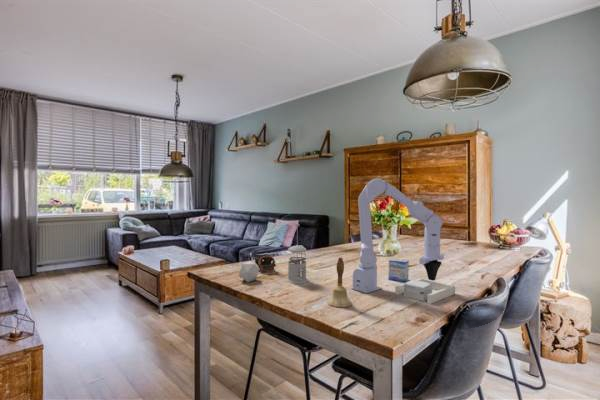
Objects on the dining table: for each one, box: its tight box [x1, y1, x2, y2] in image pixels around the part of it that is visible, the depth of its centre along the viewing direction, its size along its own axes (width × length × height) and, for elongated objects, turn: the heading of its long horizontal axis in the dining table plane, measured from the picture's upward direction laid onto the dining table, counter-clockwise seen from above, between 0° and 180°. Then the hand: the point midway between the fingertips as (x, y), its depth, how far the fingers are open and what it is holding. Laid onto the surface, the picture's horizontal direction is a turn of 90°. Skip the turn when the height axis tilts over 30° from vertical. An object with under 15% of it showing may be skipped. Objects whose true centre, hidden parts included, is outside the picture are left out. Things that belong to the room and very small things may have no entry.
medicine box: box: [387, 258, 410, 283], centre depth 144 cm, size 8×4×9 cm, turn 62°
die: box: [238, 261, 260, 283], centre depth 143 cm, size 8×9×10 cm
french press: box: [285, 222, 309, 285], centre depth 143 cm, size 10×12×25 cm
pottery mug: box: [254, 255, 277, 274], centre depth 159 cm, size 12×10×8 cm
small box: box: [403, 279, 433, 302], centre depth 122 cm, size 8×8×5 cm
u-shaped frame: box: [394, 277, 456, 305], centre depth 125 cm, size 18×14×3 cm
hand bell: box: [327, 257, 353, 308], centre depth 114 cm, size 8×8×16 cm
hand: (431, 279), depth 127 cm, fingers closed
